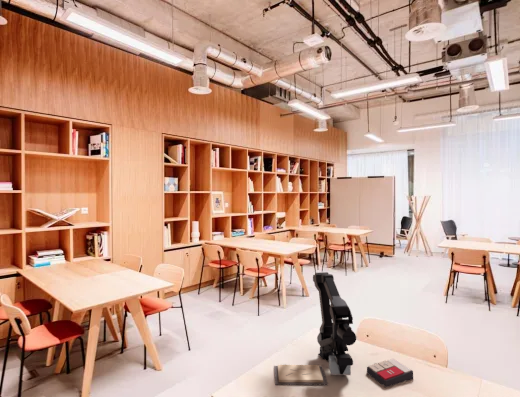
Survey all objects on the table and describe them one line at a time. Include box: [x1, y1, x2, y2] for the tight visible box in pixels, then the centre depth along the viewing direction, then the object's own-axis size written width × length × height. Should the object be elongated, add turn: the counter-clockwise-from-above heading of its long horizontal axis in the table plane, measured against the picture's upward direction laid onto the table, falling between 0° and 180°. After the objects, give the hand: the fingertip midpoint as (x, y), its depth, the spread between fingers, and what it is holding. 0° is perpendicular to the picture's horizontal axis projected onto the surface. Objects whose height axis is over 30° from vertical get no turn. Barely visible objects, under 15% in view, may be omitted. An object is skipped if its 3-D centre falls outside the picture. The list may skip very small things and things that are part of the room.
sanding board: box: [273, 364, 329, 386], centre depth 133 cm, size 21×13×2 cm, turn 89°
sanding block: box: [328, 356, 352, 376], centre depth 133 cm, size 8×5×6 cm, turn 89°
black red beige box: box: [366, 358, 414, 388], centre depth 133 cm, size 11×4×15 cm
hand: (339, 370), depth 133 cm, fingers closed on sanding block, 5 cm apart
